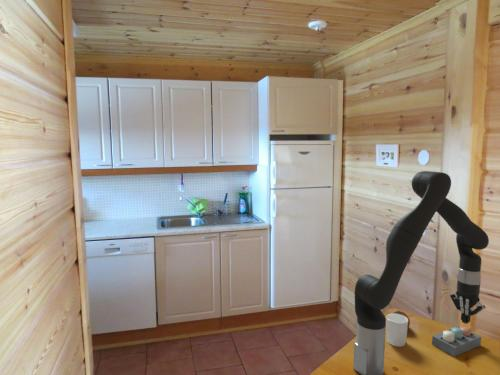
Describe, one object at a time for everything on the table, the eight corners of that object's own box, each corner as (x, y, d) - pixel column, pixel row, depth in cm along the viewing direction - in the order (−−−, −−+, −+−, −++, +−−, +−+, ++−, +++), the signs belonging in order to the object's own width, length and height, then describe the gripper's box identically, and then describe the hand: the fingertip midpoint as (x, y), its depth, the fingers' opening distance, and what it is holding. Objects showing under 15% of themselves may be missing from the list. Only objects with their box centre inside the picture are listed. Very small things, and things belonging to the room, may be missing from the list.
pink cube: (466, 342, 136) (466, 332, 136) (456, 337, 140) (457, 327, 139) (472, 339, 138) (473, 330, 138) (462, 335, 141) (463, 325, 141)
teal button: (458, 343, 134) (458, 333, 134) (448, 338, 137) (449, 328, 137) (464, 340, 136) (465, 331, 135) (454, 336, 139) (455, 326, 139)
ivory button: (449, 346, 132) (450, 336, 131) (440, 341, 135) (440, 332, 135) (456, 344, 134) (456, 334, 133) (446, 339, 137) (447, 329, 136)
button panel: (454, 356, 129) (454, 347, 129) (431, 344, 137) (432, 335, 137) (480, 345, 136) (481, 336, 136) (458, 334, 144) (458, 326, 144)
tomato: (386, 328, 149) (387, 312, 148) (393, 321, 155) (393, 305, 155) (406, 334, 144) (407, 318, 143) (412, 326, 150) (413, 310, 149)
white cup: (409, 348, 135) (410, 324, 133) (387, 346, 136) (388, 322, 135) (404, 337, 142) (405, 314, 141) (383, 335, 144) (384, 312, 143)
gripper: (446, 276, 140) (443, 317, 142) (480, 288, 128) (476, 333, 130) (458, 272, 143) (455, 313, 146) (492, 284, 132) (488, 328, 134)
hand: (465, 322), depth 138 cm, fingers closed
